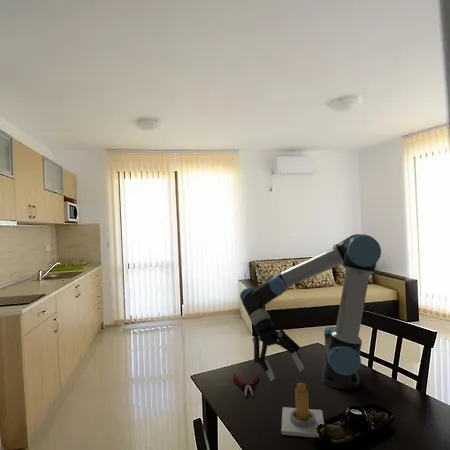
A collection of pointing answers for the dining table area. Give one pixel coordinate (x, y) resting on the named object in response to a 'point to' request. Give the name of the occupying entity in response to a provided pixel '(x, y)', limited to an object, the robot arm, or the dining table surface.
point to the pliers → (244, 385)
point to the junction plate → (301, 423)
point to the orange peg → (302, 402)
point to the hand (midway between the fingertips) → (288, 374)
